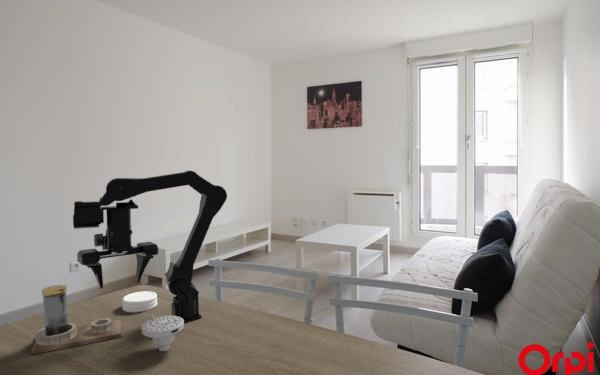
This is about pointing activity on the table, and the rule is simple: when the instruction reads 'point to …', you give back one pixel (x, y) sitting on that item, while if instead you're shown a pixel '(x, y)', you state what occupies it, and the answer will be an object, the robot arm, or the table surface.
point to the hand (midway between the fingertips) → (120, 284)
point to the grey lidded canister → (55, 310)
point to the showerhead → (162, 329)
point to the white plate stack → (139, 301)
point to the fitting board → (78, 335)
